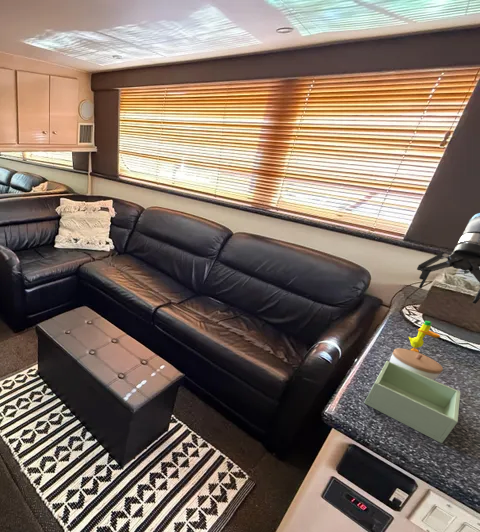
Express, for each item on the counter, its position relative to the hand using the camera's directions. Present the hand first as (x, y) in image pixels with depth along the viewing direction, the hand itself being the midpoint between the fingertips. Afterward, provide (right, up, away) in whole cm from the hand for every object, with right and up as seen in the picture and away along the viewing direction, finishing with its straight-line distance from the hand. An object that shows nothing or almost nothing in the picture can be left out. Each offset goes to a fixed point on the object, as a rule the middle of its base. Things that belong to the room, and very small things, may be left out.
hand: (446, 293), depth 113 cm
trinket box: (-31, -25, -15) cm, 43 cm away
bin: (-43, -29, -27) cm, 59 cm away
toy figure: (-10, -21, +1) cm, 24 cm away
